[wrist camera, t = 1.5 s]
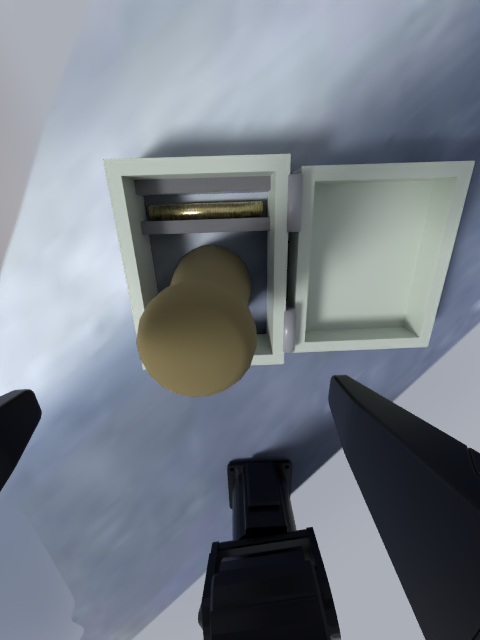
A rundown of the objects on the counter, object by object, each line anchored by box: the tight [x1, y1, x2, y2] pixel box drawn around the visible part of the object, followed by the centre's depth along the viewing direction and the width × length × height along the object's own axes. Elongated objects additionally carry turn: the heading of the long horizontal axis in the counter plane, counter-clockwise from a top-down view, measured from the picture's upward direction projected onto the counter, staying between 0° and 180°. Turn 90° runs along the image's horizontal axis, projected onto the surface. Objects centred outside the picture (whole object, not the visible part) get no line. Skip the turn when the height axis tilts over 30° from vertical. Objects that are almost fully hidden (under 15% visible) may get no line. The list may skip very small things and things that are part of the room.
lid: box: [287, 161, 475, 353], centre depth 19 cm, size 12×10×3 cm
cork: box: [136, 246, 257, 397], centre depth 15 cm, size 6×6×11 cm
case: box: [103, 154, 303, 370], centre depth 18 cm, size 13×11×4 cm
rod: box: [149, 201, 263, 221], centre depth 18 cm, size 1×8×1 cm
